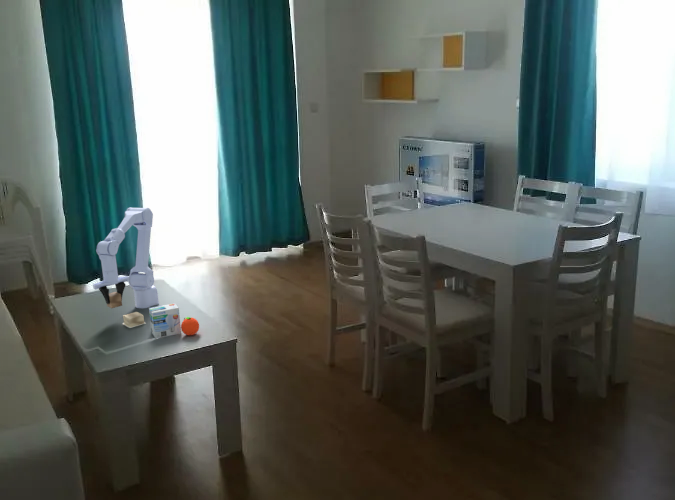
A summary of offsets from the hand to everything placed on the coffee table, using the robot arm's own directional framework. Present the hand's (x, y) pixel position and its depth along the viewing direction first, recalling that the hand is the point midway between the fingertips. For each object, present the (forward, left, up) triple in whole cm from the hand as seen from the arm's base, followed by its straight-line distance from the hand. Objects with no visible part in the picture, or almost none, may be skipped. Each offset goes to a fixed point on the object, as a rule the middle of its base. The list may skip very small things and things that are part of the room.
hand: (114, 301), depth 271 cm
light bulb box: (-9, +26, -10) cm, 29 cm away
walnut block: (0, 0, -2) cm, 2 cm away
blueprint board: (-2, +5, -9) cm, 11 cm away
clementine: (-15, +34, -10) cm, 38 cm away
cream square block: (-4, +8, -8) cm, 12 cm away
